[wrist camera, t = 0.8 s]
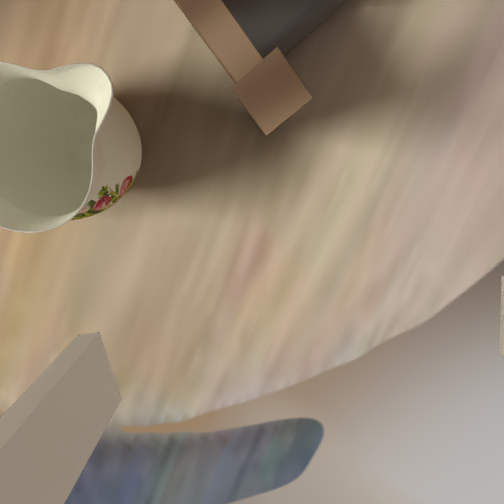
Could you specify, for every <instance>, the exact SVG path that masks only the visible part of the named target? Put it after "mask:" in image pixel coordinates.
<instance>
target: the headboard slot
mask: <svg viewBox="0 0 504 504" xmlns="http://www.w3.org/2000/svg"><path fill="white" fill-rule="evenodd" d="M174 1H175V2H176V4H177V5H178V7H179V8H180V9H181V11H182V12H183V13H184V15H185V16H186V17H187V19H188V20H189V21H190V23H191V24H192V25H193V27H194V28H195V30H196V31H197V32H198V34H199V35H200V36H201V38H202V39H203V40H204V42H205V43H206V44H207V46H208V47H209V49H210V50H211V51H212V53H213V54H214V55H215V57H216V58H217V59H218V61H219V62H220V63H221V65H222V66H223V68H224V69H225V70H226V72H227V73H228V74H229V76H230V77H231V78H232V80H233V81H234V82H235V84H234V85H233V86H232V87H231V89H232V90H233V92H234V93H235V95H236V96H237V97H238V99H239V100H240V101H241V103H242V104H243V105H244V107H245V108H246V109H247V111H248V112H249V113H250V115H251V116H252V117H253V119H254V120H255V121H256V123H257V124H258V125H259V127H260V128H261V129H262V131H263V132H264V134H265V135H266V136H267V135H268V134H269V133H270V132H272V131H273V130H274V129H275V128H277V127H278V126H279V125H280V124H281V123H283V122H284V121H285V120H286V119H288V118H289V117H290V116H291V115H292V114H294V113H295V112H296V111H297V110H299V109H300V108H301V107H302V106H303V105H305V104H306V103H307V102H308V101H310V100H311V99H312V96H311V95H310V93H309V92H308V91H307V89H306V88H305V86H304V85H303V83H302V82H301V80H300V79H299V78H298V76H297V75H296V73H295V72H294V70H293V69H292V67H291V66H290V65H289V63H288V62H287V60H286V59H285V57H284V55H285V54H286V53H287V52H289V51H290V50H291V49H292V48H293V47H294V46H295V45H297V44H298V43H299V42H300V41H301V40H302V39H304V38H305V37H306V36H307V35H308V34H309V33H310V32H312V31H313V30H314V29H315V28H316V27H317V26H319V25H320V24H321V23H322V22H323V21H324V20H326V19H327V18H328V17H329V16H330V15H331V14H332V13H334V12H335V11H336V10H337V9H338V8H339V7H341V6H342V5H343V4H344V3H345V2H346V1H347V0H174Z"/></svg>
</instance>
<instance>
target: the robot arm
mask: <svg viewBox="0 0 504 504" xmlns="http://www.w3.org/2000/svg"><path fill="white" fill-rule="evenodd" d="M501 291H502V293H501V329H500V330H501V331H500V353H501V354H502V355H503V356H504V276H502V290H501ZM120 401H121V396H120V393H119V390H118V387H117V384H116V381H115V378H114V375H113V372H112V369H111V366H110V363H109V360H108V357H107V354H106V350H105V347H104V344H103V341H102V338H101V335H100V332H96V333H89V334H82V335H78V336H77V337H76V338H75V339H74V340H73V341H72V342H71V343H70V344H69V345H68V346H67V347H66V349H65V350H64V351H63V352H62V353H61V354H60V355H59V356H58V357H57V358H56V359H55V360H54V361H53V362H52V363H51V365H50V366H49V367H48V368H47V369H46V370H45V371H44V372H43V373H42V374H41V375H40V376H39V377H38V378H37V379H36V381H35V382H34V383H33V384H32V385H31V386H30V387H29V388H28V389H27V390H26V391H25V392H24V393H23V394H22V396H21V397H20V398H19V399H18V400H17V401H16V402H15V403H14V404H13V405H12V406H11V407H10V408H9V409H8V410H7V412H6V413H5V414H4V415H3V416H2V417H1V418H0V504H64V503H65V501H66V499H67V498H68V496H69V494H70V492H71V490H72V488H73V487H74V485H75V483H76V481H77V479H78V477H79V476H80V474H81V472H82V470H83V468H84V467H85V465H86V463H87V461H88V459H89V457H90V456H91V454H92V452H93V450H94V448H95V446H96V445H97V443H98V441H99V439H100V437H101V435H102V434H103V432H104V430H105V428H106V426H107V425H108V423H109V421H110V419H111V417H112V415H113V414H114V412H115V410H116V408H117V406H118V404H119V403H120Z"/></svg>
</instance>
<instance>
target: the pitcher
mask: <svg viewBox="0 0 504 504" xmlns="http://www.w3.org/2000/svg"><path fill="white" fill-rule="evenodd" d="M113 95H114V93H113V83H112V81H111V79H110V77H109V75H108V74H107V73H106V72H105V71H104V70H103V69H102V68H101V67H99V66H97V65H94V64H92V63H77V64H71V65H65V66H61V67H58V68H54V69H51V70H36V69H31V68H27V67H23V66H20V65H16V64H12V63H6V62H0V227H1V228H3V229H7V230H11V231H15V232H22V233H37V232H44V231H48V230H52V229H54V228H57V227H59V226H61V225H63V224H65V223H66V222H68V221H70V220H74V219H82V218H86V217H89V216H93V215H95V214H97V213H100V212H102V211H104V210H106V209H107V208H109V207H111V206H112V205H114V204H115V203H116V202H117V201H119V200H120V199H121V198H122V197H123V196H124V195H125V194H126V193H127V192H128V190H129V189H130V188H131V186H132V185H133V183H134V181H135V179H136V177H137V175H138V172H139V169H140V165H141V159H142V146H141V140H140V135H139V132H138V129H137V127H136V125H135V123H134V121H133V119H132V117H131V116H130V114H129V113H128V111H127V110H126V109H125V108H124V106H123V105H122V104H121V103H120V102H119V101H118V100H117V99H116V98H115V97H114V96H113Z"/></svg>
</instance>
